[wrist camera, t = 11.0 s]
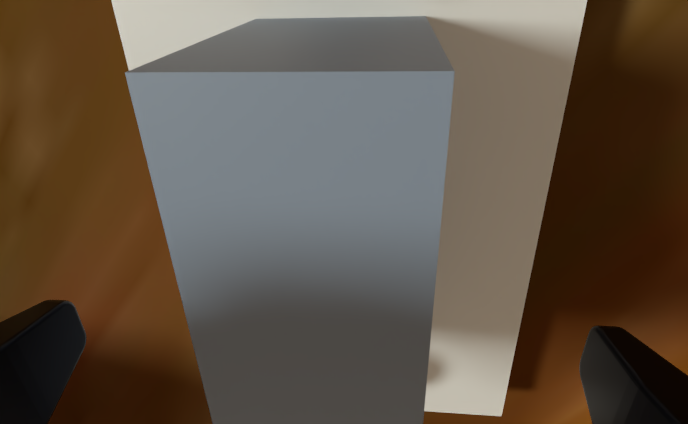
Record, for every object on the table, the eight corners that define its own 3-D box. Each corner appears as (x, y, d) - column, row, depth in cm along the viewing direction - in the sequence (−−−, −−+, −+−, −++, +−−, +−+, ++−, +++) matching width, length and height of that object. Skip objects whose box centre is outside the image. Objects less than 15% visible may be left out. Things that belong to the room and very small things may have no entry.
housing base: (223, 366, 19) (184, 457, 16) (99, -195, 10) (-51, -274, 7) (493, 382, 18) (517, 485, 14) (607, -234, 9) (734, -351, 6)
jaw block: (287, 310, 15) (230, 493, 10) (255, 18, 11) (124, 72, 6) (408, 316, 15) (415, 510, 10) (425, 16, 10) (454, 70, 5)
